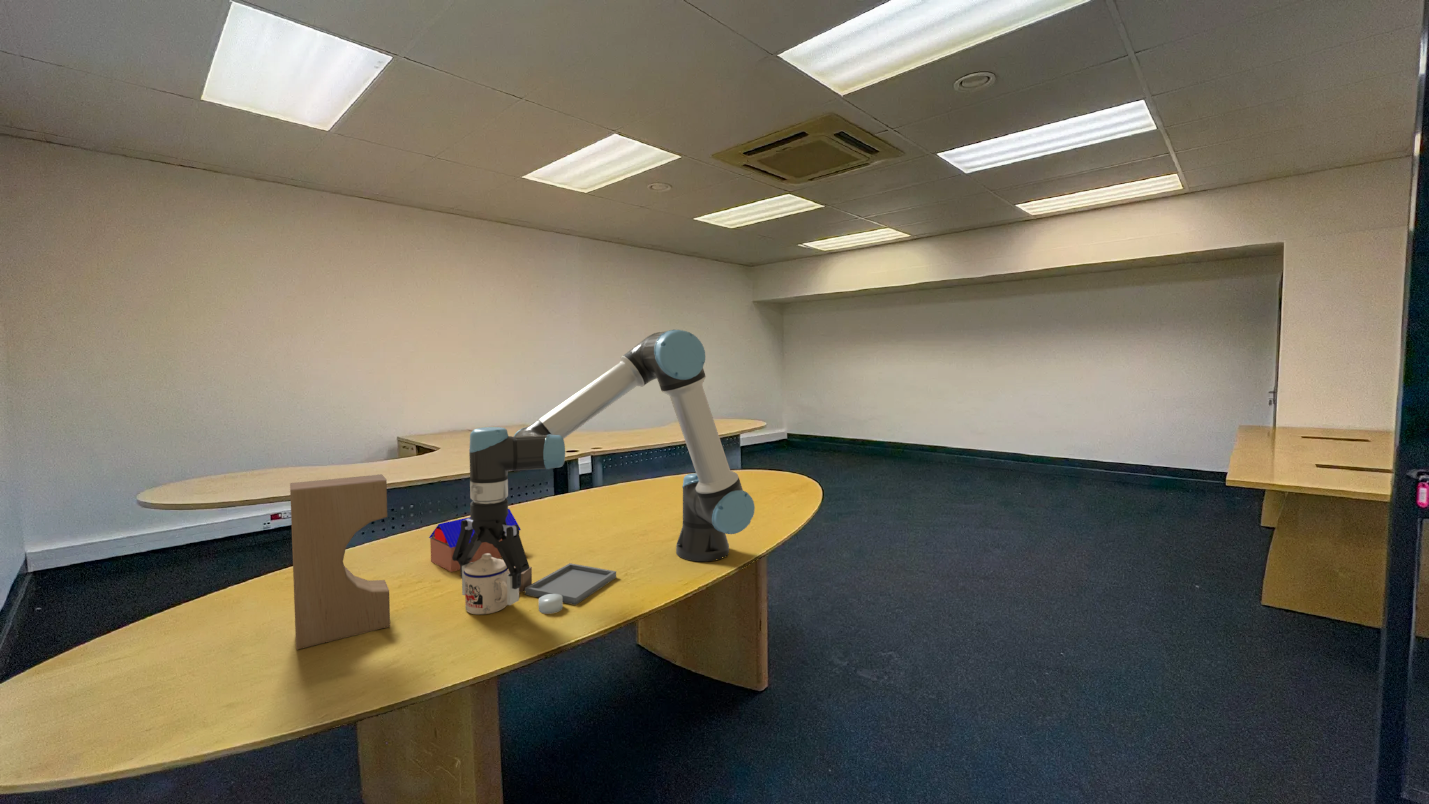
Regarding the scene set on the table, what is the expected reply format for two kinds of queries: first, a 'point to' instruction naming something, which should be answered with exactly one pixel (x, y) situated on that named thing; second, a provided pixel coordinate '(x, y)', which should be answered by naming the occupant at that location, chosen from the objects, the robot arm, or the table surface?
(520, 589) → the walnut cube
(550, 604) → the white egg-shaped dome
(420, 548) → the table surface
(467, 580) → the teacup with lid
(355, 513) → the decorative block
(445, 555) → the house
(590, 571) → the tray
